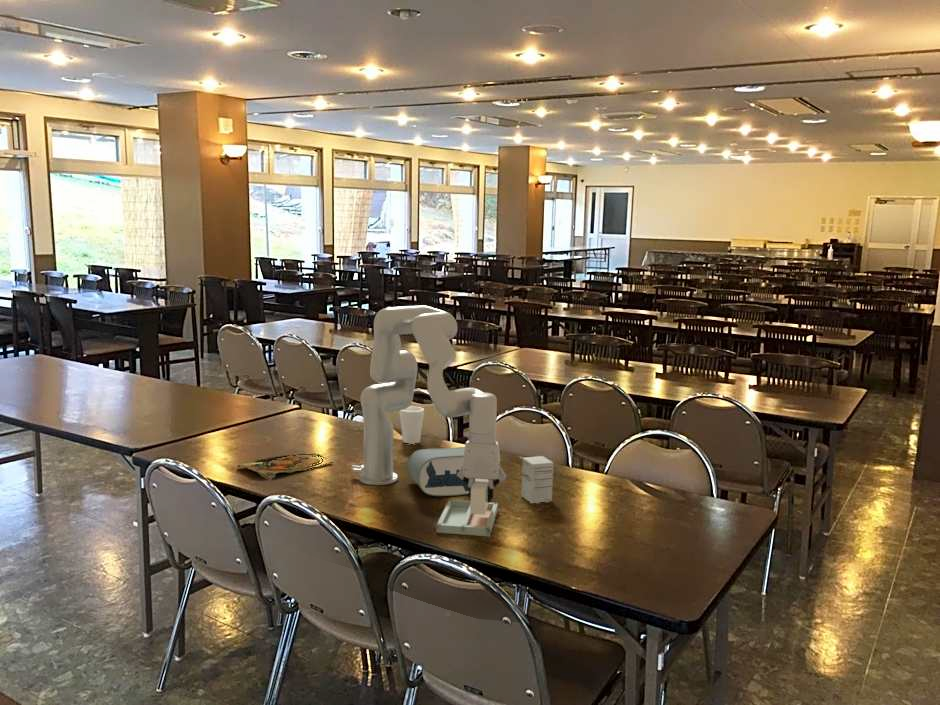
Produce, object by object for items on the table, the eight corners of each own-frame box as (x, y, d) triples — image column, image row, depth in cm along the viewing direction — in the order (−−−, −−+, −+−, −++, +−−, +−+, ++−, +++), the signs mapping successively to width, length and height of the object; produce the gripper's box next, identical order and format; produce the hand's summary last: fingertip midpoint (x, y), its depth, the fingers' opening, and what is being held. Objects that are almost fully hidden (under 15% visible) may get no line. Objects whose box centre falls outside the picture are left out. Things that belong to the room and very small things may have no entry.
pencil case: (418, 499, 241) (418, 458, 240) (406, 482, 260) (406, 444, 258) (488, 494, 247) (488, 454, 246) (471, 478, 265) (472, 440, 264)
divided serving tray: (436, 532, 217) (436, 524, 216) (448, 506, 237) (449, 499, 236) (489, 536, 215) (490, 528, 214) (497, 510, 235) (498, 502, 234)
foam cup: (428, 441, 306) (428, 408, 304) (414, 447, 298) (414, 413, 296) (408, 437, 311) (408, 405, 309) (393, 442, 303) (394, 409, 301)
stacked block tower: (520, 496, 247) (521, 457, 245) (542, 494, 249) (543, 455, 247) (530, 504, 240) (532, 464, 238) (552, 502, 243) (554, 462, 241)
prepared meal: (305, 444, 287) (335, 454, 274) (306, 454, 287) (335, 464, 275) (235, 462, 267) (263, 474, 255) (235, 472, 268) (264, 484, 255)
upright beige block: (470, 513, 218) (470, 489, 217) (477, 496, 231) (477, 473, 230) (484, 514, 217) (485, 490, 216) (490, 497, 231) (491, 474, 230)
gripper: (450, 439, 219) (449, 503, 222) (511, 442, 216) (509, 507, 219) (454, 432, 226) (453, 494, 229) (513, 435, 224) (511, 498, 227)
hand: (481, 499), depth 224 cm, fingers closed on upright beige block, 4 cm apart
